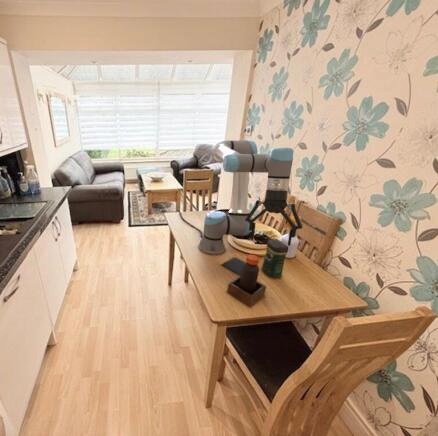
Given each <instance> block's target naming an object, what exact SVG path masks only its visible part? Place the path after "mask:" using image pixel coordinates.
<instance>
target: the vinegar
mask: <svg viewBox="0 0 438 436" xmlns="http://www.w3.org/2000/svg"><path fill="white" fill-rule="evenodd" d="M259 261H260V257H259V256H258V255H255V254H247V255H246V259H245V263H244V264H243V267H242V272H241V277H240V282H239V288H240V289H242V290H244V291H245V292H247V293H249V294H250V295H252V294H253V293H254V291H255V286H256V282H257V281H258V277H259V273H260V267H259V266H258V265H259Z"/></svg>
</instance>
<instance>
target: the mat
mask: <svg viewBox="0 0 438 436" xmlns="http://www.w3.org/2000/svg"><path fill="white" fill-rule="evenodd" d="M244 263H246V261H243V260H241V259H239V258H237V257H233V258H230V259H229V260H227V261H225V262H223V263H222V264H221V266H222V267H224V268H225V269H227V270H229V271H231V272H232V273H234V274H236V275H238V276H240V275H241V272H242V267H243V264H244Z"/></svg>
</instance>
